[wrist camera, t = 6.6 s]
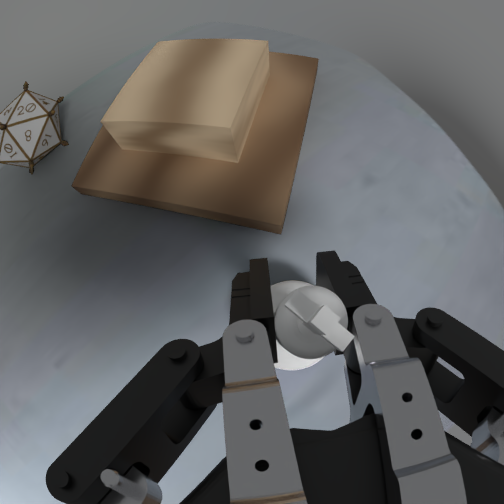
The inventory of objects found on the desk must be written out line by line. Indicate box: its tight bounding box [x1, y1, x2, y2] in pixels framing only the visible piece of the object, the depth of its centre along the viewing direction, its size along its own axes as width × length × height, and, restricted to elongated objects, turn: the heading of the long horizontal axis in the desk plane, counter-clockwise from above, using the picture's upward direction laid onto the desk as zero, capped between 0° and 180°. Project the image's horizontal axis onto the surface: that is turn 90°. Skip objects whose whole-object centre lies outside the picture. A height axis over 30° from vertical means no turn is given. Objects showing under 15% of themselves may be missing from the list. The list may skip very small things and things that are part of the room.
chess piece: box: [271, 280, 355, 370], centre depth 10 cm, size 5×5×10 cm
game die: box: [0, 82, 69, 174], centre depth 18 cm, size 9×8×10 cm
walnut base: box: [72, 39, 318, 234], centre depth 18 cm, size 16×16×5 cm
